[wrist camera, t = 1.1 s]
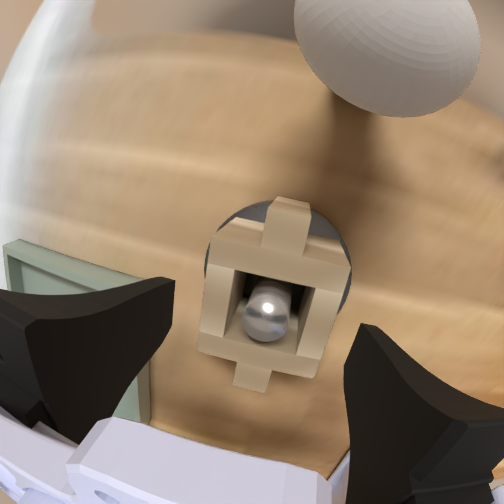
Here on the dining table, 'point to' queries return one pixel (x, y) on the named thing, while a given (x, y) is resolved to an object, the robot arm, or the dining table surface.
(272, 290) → the grey metal round stand
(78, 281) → the tray
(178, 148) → the dining table surface
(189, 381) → the dining table surface
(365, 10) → the light bulb
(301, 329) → the beige hollow block
